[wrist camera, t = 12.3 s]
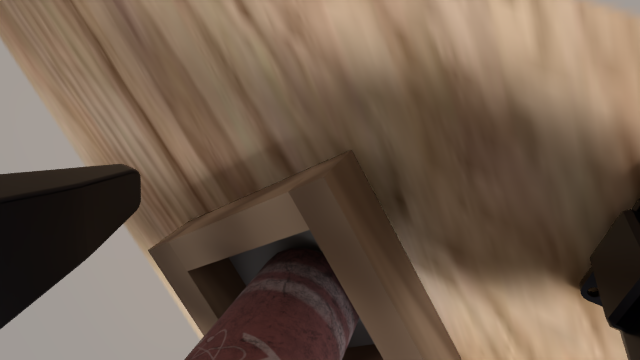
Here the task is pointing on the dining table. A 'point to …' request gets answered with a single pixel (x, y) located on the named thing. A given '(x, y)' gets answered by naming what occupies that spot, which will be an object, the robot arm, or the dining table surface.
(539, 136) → the dining table surface
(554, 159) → the dining table surface
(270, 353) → the can
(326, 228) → the collar
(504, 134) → the dining table surface
